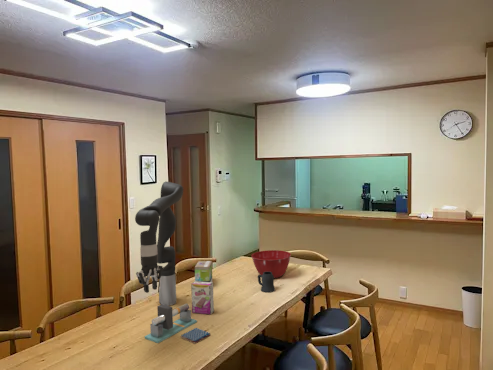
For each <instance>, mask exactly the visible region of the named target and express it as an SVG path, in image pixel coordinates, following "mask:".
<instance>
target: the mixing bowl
mask: <svg viewBox="0 0 493 370" xmlns="http://www.w3.org/2000/svg"><path fill="white" fill-rule="evenodd" d="M250 255H251V259H252V261H253V264H254V267H255V268H256V271H257V273H258V275H263V272H267V271H268V272H272V274H273V276H274V279H278V278H281V277H282V276H283V275H284V274H285V273H286V271H287V269H288V267H289V264H290V261H291V260H290V259H291V256H292V253H291V252H289V251H285V250H279V249H278V250H277V249H276V250H275V249H271V250H270V249H269V250H261V251H256V252H254V253H252V254H250Z"/></svg>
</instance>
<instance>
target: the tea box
mask: <svg viewBox="0 0 493 370" xmlns="http://www.w3.org/2000/svg"><path fill="white" fill-rule="evenodd" d="M194 281H199V282H212V283H213V261H212V260H202V261H201V260H198V261H197V263H196V264H195V266H194Z"/></svg>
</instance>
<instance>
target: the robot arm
mask: <svg viewBox="0 0 493 370" xmlns="http://www.w3.org/2000/svg"><path fill="white" fill-rule="evenodd" d="M183 195H184V187H183V186H182V184H179V183H175V182H172V181H164V182H163V183H162V185H161V188H160V197H158V198H156V199H154V200H153V201H152V202H151V203H150V204H148V205H147V206H145V207H142V208H141V209H139V210H138V211H137V212H136V214H135V216H134V220H135V223H136V225H138V226H141V227H147V226H148V227H149V229H148V230H144V231H142V232H140V234H139V235H140V236H139V237H140V238H139V239H140V248H139V249H140V252H139V253H140V254H139V255H140V265H141V269H140V270H139V271H136V273H135V274H136V277H137V280H138V284H140V285H143V292H144V293H147V294H149V292H150V286H149V285H150V284H149V281H150V280H151V282H152V283H151V284H152V285H151V286H152V290H158V303H159V304H160V305H161V304H163V305H167V306H173V305H176V303H177V285H176V279H177V278H176V250H175V247H174V246H172V245H171V246H166V244H167V242H168V241H169V240H170V239H171V237H172V236H173V235H174V233H175V231H176V225H177V218H176V215H175V214H174V211H173V210H172V207H171V206H173V205H175V204H176V203H178V202H179V201H180V200H181V199H182V197H183ZM158 264H159V265H158ZM161 264H166V265H165V266H163V265H161ZM158 280H159V287H158ZM157 288H158V289H157Z"/></svg>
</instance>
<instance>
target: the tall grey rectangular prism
mask: <svg viewBox="0 0 493 370" xmlns="http://www.w3.org/2000/svg"><path fill="white" fill-rule="evenodd" d="M156 309H157V317H158V316H160V315H165V321H163V322H161V323H160V324H163V328H164V329H167V330H169V329H171V328H173V322H174V319H173V318H174V316H173V314H172V310H173V307H172V306H171V305H169V306H167V305H163V304H160V305H157V306H156Z"/></svg>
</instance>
